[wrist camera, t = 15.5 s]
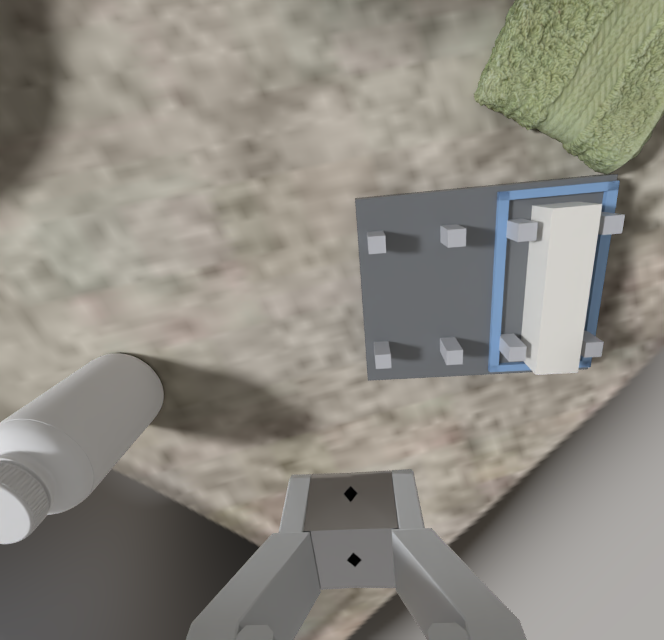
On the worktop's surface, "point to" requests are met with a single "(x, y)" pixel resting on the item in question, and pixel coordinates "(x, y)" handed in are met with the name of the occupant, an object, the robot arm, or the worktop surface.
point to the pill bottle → (72, 439)
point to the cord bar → (559, 285)
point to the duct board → (464, 275)
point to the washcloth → (581, 74)
